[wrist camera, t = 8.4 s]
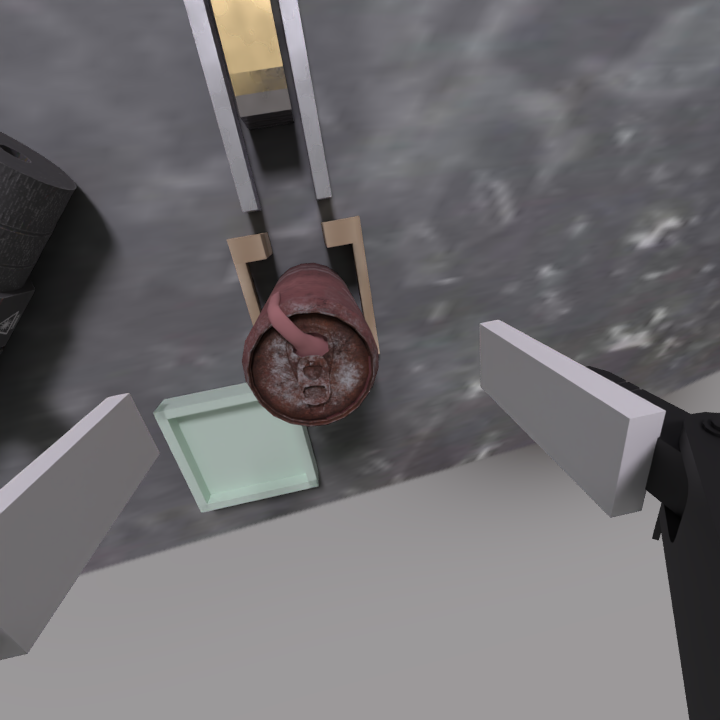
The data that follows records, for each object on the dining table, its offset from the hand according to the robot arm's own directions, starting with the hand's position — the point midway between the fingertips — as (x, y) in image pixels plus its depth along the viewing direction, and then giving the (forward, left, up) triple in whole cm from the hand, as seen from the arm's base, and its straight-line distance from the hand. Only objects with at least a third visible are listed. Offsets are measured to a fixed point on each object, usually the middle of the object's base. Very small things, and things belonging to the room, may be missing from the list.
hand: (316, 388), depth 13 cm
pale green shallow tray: (-9, -11, -16) cm, 21 cm away
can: (0, 0, -16) cm, 16 cm away
